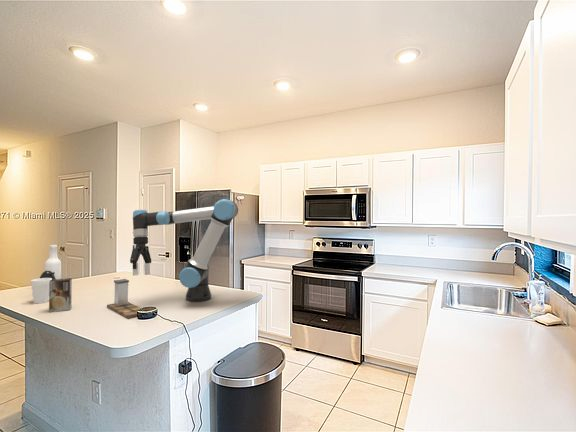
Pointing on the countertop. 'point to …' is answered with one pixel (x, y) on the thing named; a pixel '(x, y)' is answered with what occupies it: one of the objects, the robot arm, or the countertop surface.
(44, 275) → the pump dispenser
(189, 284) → the robot arm
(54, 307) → the coffee box
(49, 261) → the alcohol
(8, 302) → the countertop surface
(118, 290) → the silver square canister
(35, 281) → the foam cup
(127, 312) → the rail board
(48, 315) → the countertop surface
